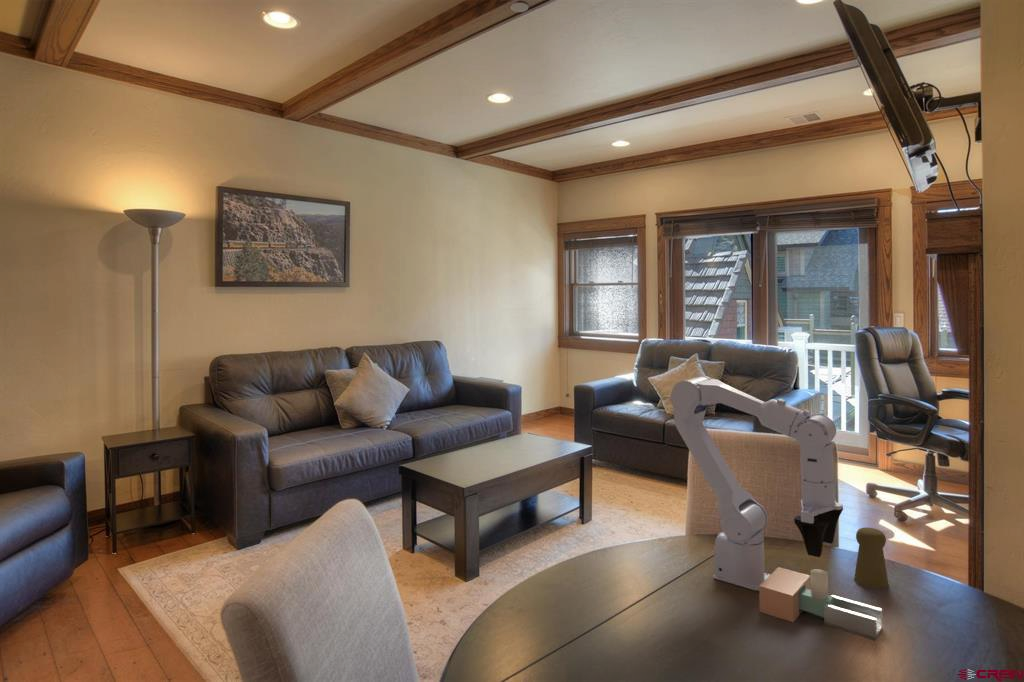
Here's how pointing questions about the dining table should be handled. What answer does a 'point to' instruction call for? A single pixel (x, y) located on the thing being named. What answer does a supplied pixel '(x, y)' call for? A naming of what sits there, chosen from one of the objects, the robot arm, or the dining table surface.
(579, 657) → the dining table surface
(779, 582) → the socket block
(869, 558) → the cork
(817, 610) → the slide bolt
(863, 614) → the grey u-channel
